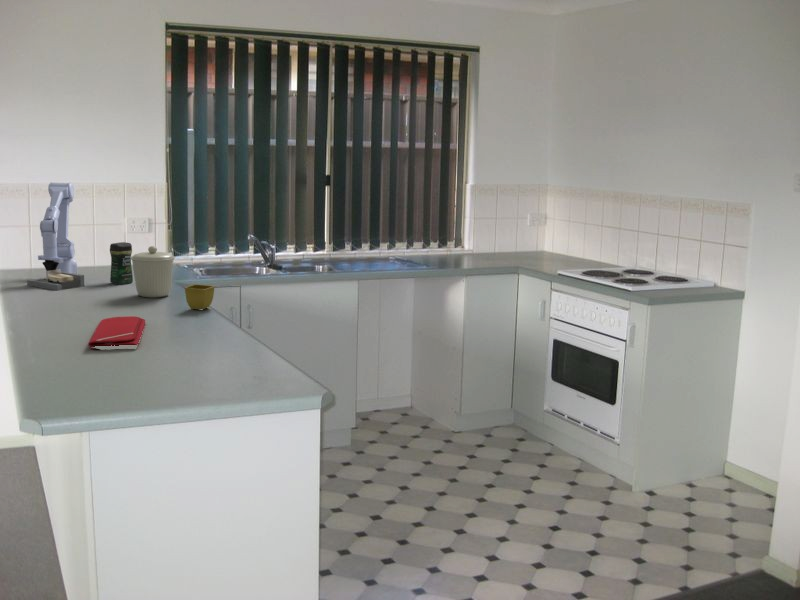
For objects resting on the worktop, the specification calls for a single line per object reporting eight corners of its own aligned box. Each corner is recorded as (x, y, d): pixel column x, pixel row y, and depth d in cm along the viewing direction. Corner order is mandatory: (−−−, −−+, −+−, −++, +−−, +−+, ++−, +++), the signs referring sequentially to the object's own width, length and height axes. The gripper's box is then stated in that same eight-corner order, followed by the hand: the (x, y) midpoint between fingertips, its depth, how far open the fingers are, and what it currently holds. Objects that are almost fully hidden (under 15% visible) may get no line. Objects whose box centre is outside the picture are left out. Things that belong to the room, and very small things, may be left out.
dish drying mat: (146, 323, 323) (146, 313, 322) (138, 351, 284) (138, 339, 283) (100, 324, 320) (100, 314, 319) (87, 352, 280) (86, 341, 280)
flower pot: (215, 308, 352) (215, 285, 351) (204, 312, 344) (204, 289, 342) (195, 306, 355) (195, 284, 353) (184, 310, 346) (184, 287, 345)
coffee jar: (119, 285, 397) (117, 244, 393) (107, 283, 401) (106, 242, 398) (136, 282, 405) (135, 242, 401) (124, 280, 409) (123, 240, 406)
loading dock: (54, 282, 404) (53, 270, 403) (84, 287, 393) (84, 274, 392) (27, 286, 392) (26, 274, 391) (57, 291, 381) (57, 278, 380)
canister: (122, 296, 371) (120, 246, 367) (152, 290, 387) (151, 242, 383) (155, 301, 363) (153, 250, 359) (185, 294, 378) (183, 245, 375)
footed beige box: (60, 280, 396) (60, 269, 395) (74, 283, 391) (73, 271, 390) (46, 282, 389) (45, 271, 388) (59, 285, 385) (59, 273, 384)
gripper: (31, 246, 391) (33, 276, 393) (53, 249, 384) (54, 280, 386) (45, 244, 397) (46, 274, 399) (66, 247, 390) (68, 278, 392)
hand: (51, 277), depth 393 cm, fingers closed
